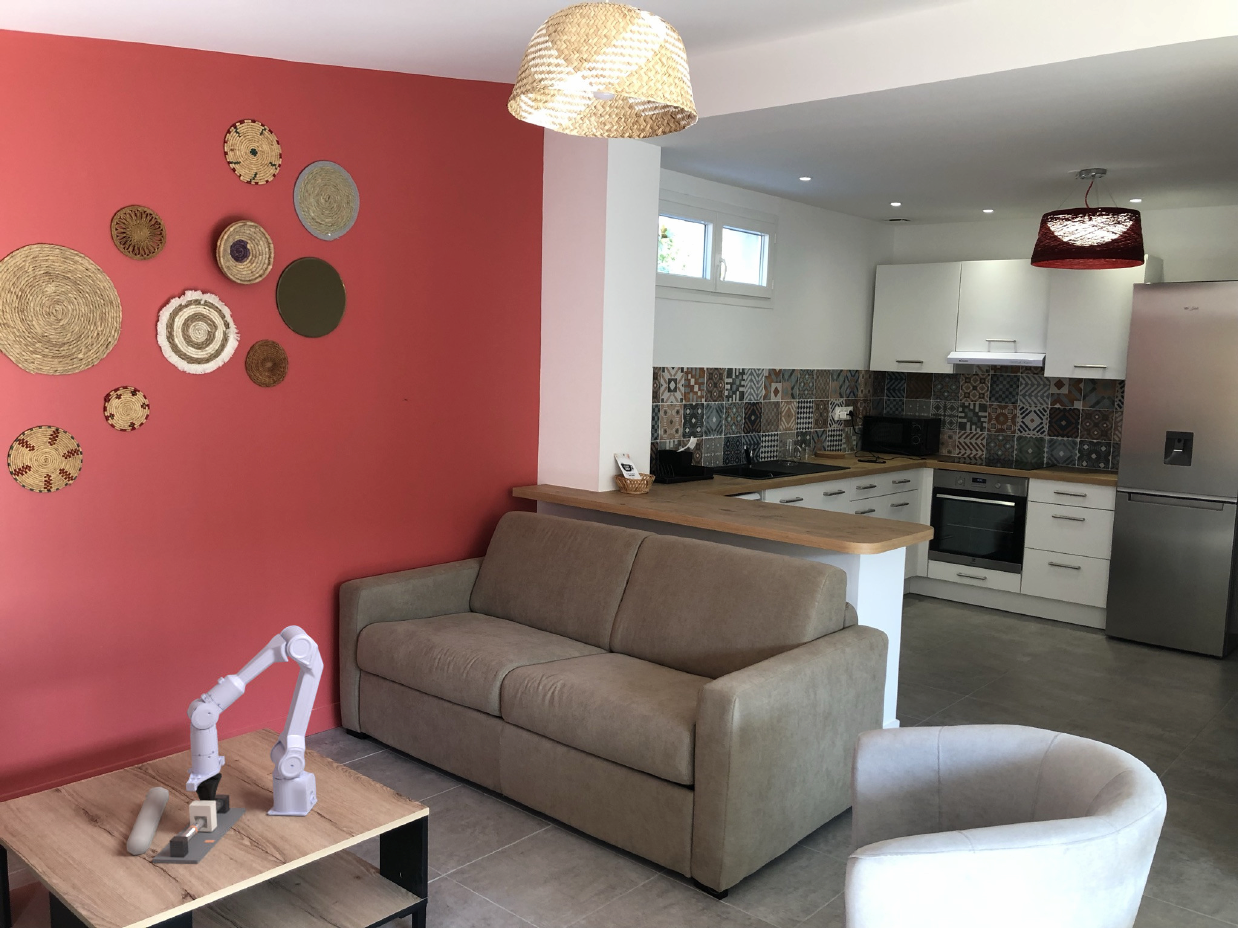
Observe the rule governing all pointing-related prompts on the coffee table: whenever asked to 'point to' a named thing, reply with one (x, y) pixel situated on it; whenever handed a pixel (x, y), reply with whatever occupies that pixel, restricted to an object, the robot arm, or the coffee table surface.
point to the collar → (204, 813)
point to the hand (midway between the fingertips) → (207, 806)
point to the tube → (147, 820)
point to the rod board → (200, 835)
